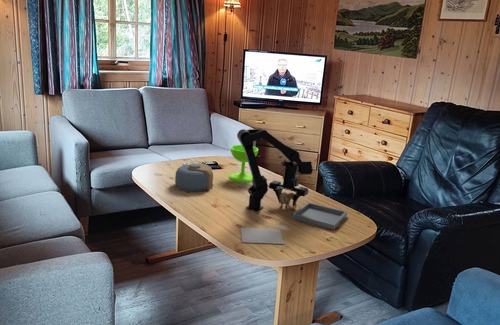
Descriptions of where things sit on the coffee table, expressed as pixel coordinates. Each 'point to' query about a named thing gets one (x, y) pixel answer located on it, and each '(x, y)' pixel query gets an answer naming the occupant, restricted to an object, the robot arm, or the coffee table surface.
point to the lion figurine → (286, 199)
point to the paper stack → (262, 235)
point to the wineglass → (241, 156)
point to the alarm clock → (194, 177)
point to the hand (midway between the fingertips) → (286, 204)
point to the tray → (319, 215)
